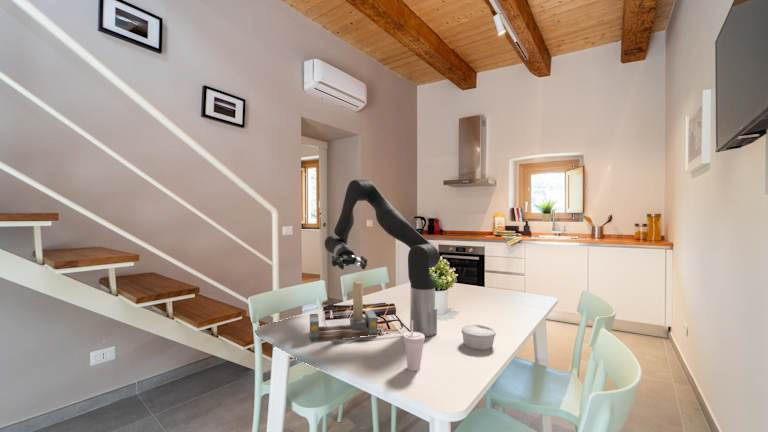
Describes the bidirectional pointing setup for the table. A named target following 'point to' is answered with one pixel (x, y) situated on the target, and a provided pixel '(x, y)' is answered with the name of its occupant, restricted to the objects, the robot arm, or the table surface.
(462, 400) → the table surface
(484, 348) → the ramekin
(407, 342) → the smoothie
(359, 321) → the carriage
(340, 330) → the rail bed
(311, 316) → the pair of sage blocks
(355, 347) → the table surface
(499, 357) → the table surface
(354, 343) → the table surface
